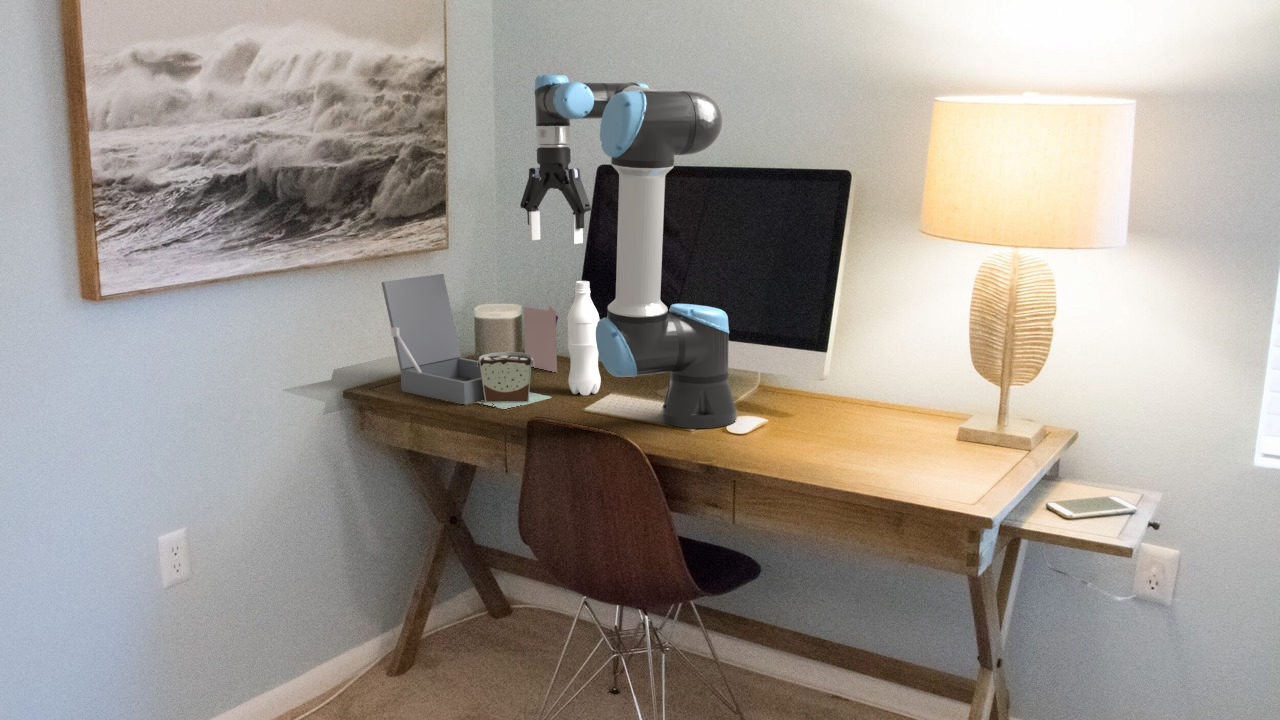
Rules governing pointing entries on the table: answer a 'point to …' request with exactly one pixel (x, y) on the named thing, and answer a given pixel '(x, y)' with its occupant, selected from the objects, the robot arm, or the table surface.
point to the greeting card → (541, 337)
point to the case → (429, 341)
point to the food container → (506, 376)
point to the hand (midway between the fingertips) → (555, 241)
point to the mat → (532, 398)
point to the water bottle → (583, 342)
